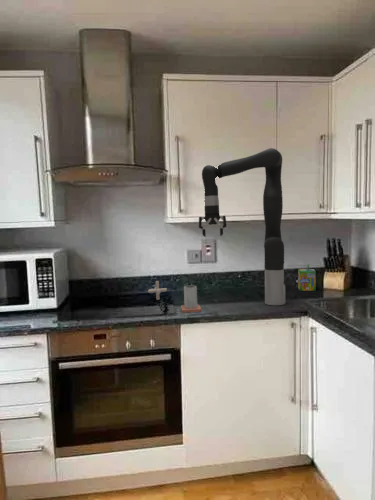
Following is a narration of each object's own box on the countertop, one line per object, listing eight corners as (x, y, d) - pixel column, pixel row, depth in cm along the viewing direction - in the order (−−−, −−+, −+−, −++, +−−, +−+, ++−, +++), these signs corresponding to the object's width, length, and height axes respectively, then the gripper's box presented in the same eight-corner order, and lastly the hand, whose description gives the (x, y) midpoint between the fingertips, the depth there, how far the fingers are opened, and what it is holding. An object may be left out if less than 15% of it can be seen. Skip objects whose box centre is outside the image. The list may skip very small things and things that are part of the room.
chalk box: (297, 287, 222) (297, 263, 220) (314, 288, 220) (313, 263, 218) (299, 291, 213) (299, 265, 211) (316, 291, 211) (316, 265, 209)
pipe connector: (150, 302, 197) (149, 283, 196) (147, 298, 207) (146, 280, 206) (168, 300, 200) (168, 282, 199) (165, 296, 210) (164, 279, 209)
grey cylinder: (196, 305, 182) (195, 285, 181) (197, 308, 176) (197, 287, 175) (184, 306, 181) (183, 285, 181) (185, 309, 176) (184, 288, 175)
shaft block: (199, 307, 183) (198, 294, 183) (201, 311, 175) (200, 298, 174) (181, 308, 183) (180, 295, 182) (182, 312, 174) (181, 299, 173)
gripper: (198, 205, 189) (200, 237, 190) (226, 204, 190) (227, 235, 191) (197, 205, 196) (198, 236, 198) (224, 204, 197) (225, 235, 199)
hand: (212, 236), depth 195 cm, fingers open, 8 cm apart
